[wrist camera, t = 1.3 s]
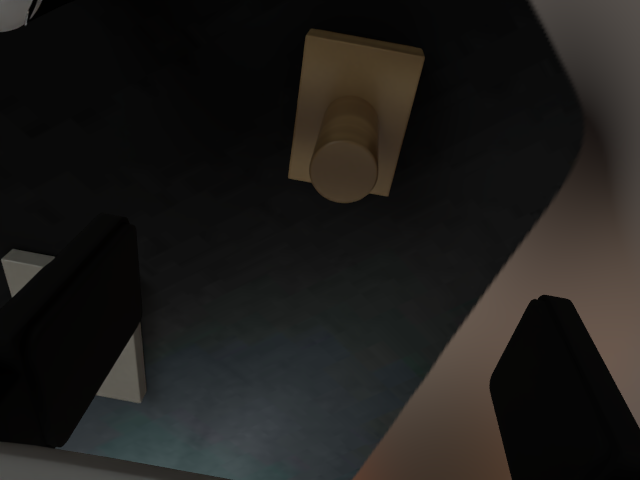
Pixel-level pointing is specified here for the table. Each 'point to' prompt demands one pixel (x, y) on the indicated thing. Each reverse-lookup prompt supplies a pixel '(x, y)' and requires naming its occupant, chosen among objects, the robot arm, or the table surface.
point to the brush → (352, 113)
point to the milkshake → (25, 11)
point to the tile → (129, 367)
